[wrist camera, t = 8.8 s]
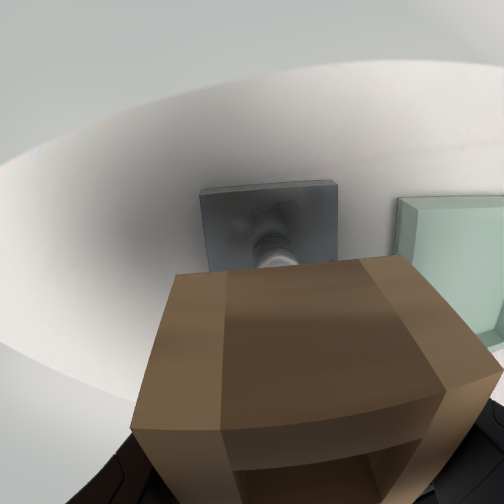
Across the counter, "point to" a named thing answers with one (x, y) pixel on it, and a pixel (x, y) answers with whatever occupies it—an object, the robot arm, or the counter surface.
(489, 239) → the sage tray
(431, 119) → the counter surface
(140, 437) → the walnut block
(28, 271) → the counter surface
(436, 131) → the counter surface
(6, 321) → the counter surface
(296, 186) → the stand
